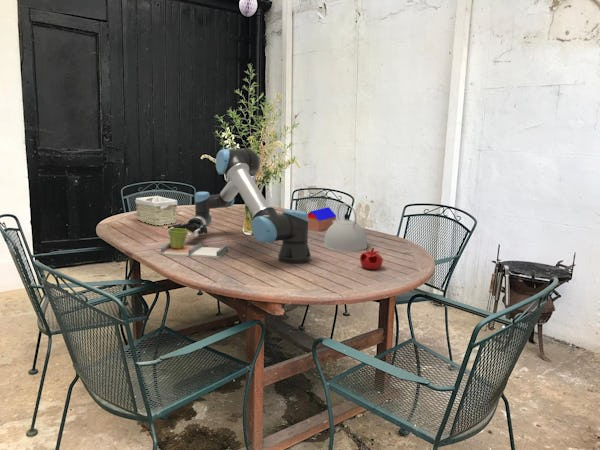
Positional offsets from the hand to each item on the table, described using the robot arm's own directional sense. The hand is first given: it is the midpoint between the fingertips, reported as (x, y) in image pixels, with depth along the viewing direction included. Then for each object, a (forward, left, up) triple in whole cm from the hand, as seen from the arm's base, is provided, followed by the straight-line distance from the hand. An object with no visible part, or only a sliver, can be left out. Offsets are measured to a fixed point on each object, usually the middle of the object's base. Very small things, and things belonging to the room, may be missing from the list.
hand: (181, 233), depth 231 cm
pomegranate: (-75, +52, -9) cm, 91 cm away
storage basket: (+4, -72, -9) cm, 73 cm away
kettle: (-82, +12, -9) cm, 83 cm away
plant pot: (+2, -1, -7) cm, 8 cm away
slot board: (-6, +5, -9) cm, 11 cm away
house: (-88, -32, -9) cm, 94 cm away
